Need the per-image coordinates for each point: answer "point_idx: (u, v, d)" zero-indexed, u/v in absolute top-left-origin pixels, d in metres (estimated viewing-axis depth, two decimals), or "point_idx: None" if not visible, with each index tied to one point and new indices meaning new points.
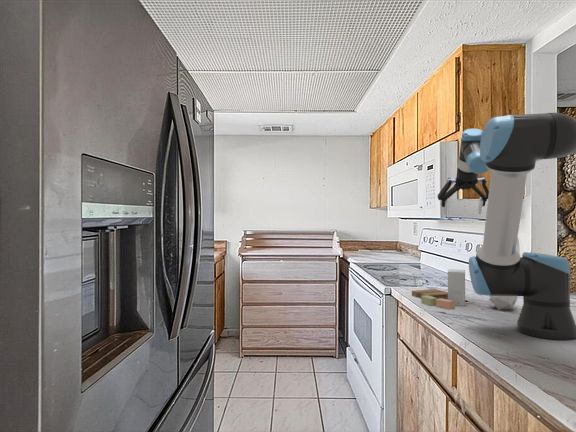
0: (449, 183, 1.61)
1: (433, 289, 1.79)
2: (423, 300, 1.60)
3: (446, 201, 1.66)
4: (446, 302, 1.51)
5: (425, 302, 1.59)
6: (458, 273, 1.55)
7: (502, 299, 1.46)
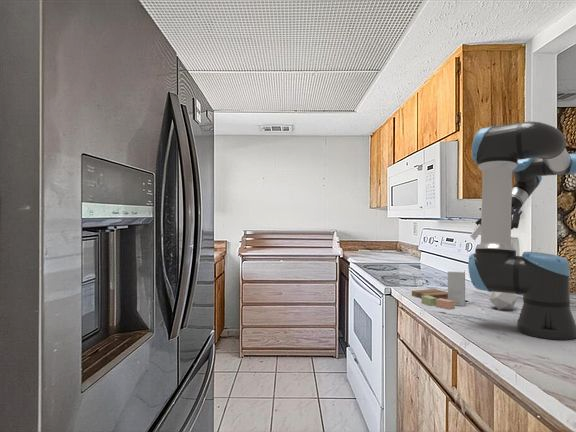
0: None
1: (433, 289, 1.79)
2: (423, 300, 1.60)
3: (479, 224, 1.70)
4: (446, 302, 1.51)
5: (425, 302, 1.59)
6: (458, 273, 1.55)
7: (502, 299, 1.46)
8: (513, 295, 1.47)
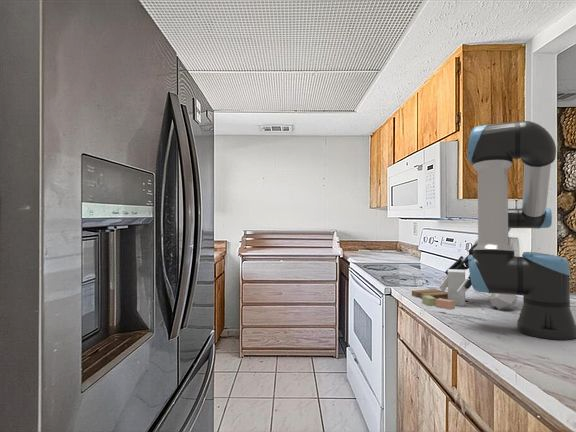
0: (459, 258, 1.67)
1: (433, 289, 1.79)
2: (423, 300, 1.61)
3: None
4: (447, 302, 1.51)
5: (425, 302, 1.59)
6: (458, 273, 1.55)
7: (502, 299, 1.46)
8: (513, 295, 1.47)
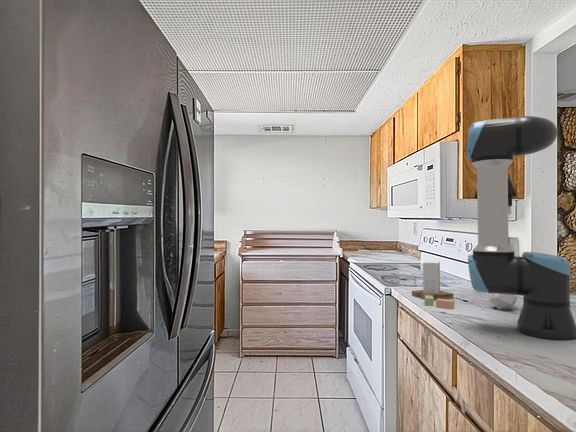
0: None
1: None
2: None
3: None
4: (448, 302, 1.51)
5: None
6: (433, 264, 1.69)
7: (502, 299, 1.46)
8: (513, 295, 1.47)
